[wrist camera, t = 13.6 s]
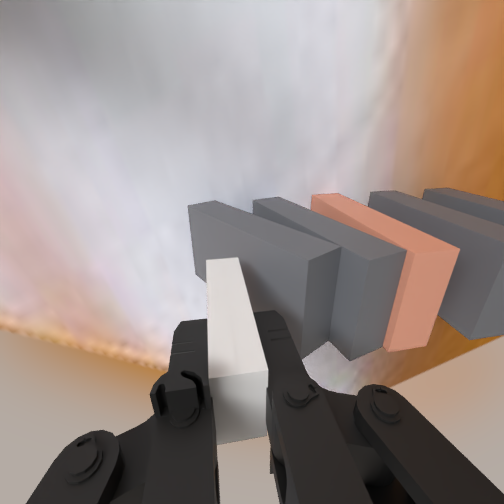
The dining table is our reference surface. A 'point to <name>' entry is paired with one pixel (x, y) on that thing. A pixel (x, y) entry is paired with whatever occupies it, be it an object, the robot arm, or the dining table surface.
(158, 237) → the dining table surface
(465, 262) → the domino
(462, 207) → the domino
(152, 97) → the dining table surface
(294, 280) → the domino
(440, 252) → the domino
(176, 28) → the dining table surface
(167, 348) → the dining table surface
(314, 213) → the domino
